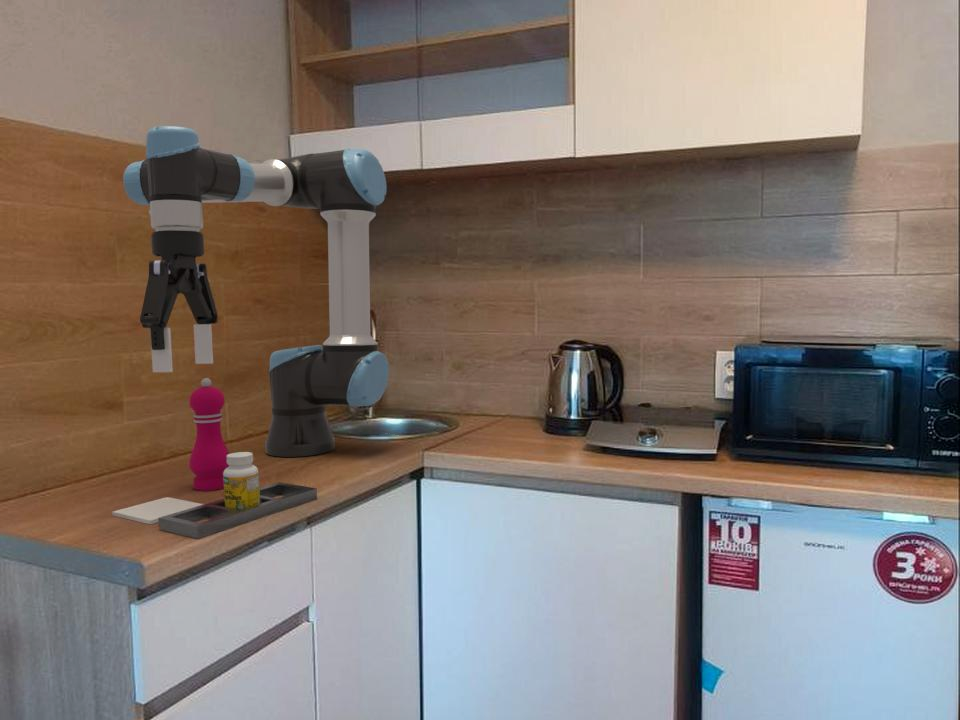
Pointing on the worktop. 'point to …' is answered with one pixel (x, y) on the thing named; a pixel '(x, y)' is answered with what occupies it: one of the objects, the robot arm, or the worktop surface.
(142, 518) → the white mat
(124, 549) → the worktop surface
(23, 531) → the worktop surface
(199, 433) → the pepper mill
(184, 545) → the worktop surface
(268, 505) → the rack frame
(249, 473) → the supplement bottle
